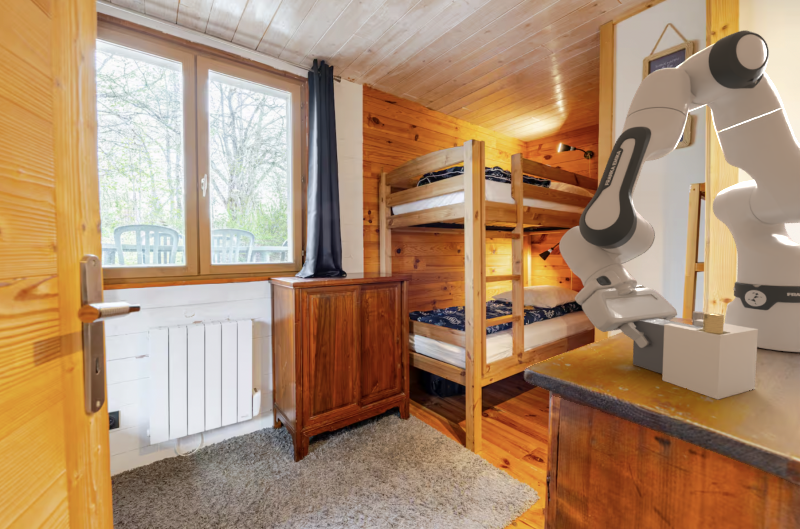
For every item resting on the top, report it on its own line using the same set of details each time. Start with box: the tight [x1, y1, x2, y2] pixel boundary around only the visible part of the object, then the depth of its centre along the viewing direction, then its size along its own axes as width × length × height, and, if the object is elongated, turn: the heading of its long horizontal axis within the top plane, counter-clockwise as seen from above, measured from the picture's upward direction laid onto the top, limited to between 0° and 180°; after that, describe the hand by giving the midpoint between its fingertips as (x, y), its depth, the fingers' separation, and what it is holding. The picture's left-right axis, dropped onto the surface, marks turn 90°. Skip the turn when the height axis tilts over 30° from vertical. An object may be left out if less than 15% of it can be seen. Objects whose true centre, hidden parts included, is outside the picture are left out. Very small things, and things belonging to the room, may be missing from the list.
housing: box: [662, 319, 758, 400], centre depth 58 cm, size 10×8×10 cm
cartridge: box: [632, 318, 703, 375], centre depth 64 cm, size 5×9×9 cm, turn 20°
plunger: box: [703, 312, 725, 335], centre depth 55 cm, size 2×2×6 cm
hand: (658, 343), depth 65 cm, fingers open, 5 cm apart
